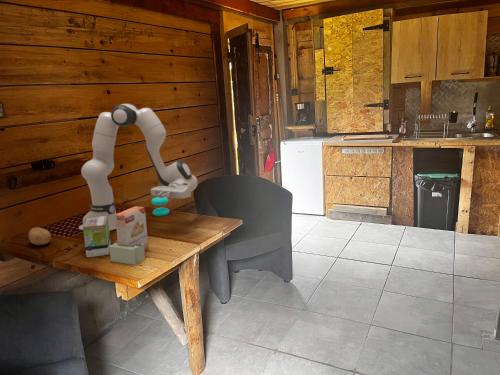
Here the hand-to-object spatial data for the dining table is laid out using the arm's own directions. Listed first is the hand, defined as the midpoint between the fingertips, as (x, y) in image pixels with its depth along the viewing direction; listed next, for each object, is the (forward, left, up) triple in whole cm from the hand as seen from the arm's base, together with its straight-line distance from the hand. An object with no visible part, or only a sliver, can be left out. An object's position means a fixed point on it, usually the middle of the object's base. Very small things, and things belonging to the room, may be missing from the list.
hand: (160, 196), depth 191 cm
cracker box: (-1, -22, -22) cm, 31 cm away
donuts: (-27, +34, -22) cm, 48 cm away
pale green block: (0, -28, -22) cm, 36 cm away
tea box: (-21, -23, -22) cm, 38 cm away
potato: (-56, -26, -22) cm, 65 cm away
